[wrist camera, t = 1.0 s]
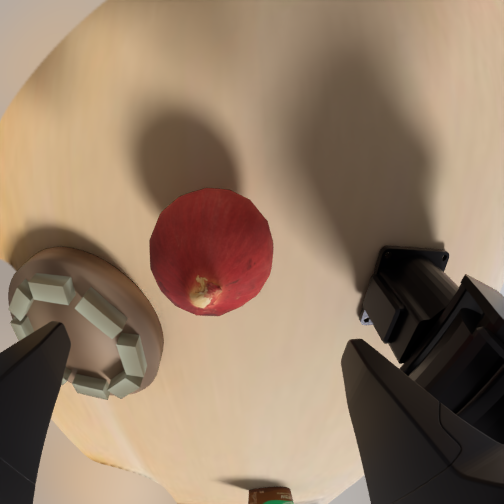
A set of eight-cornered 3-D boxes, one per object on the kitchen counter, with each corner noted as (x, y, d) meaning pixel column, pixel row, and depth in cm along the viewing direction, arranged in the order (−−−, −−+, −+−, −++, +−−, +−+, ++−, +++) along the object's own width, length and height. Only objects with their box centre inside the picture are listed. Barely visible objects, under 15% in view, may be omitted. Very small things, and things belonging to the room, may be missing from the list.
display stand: (152, 251, 17) (138, 277, 14) (173, 387, 23) (168, 415, 21) (3, 243, 16) (-20, 262, 13) (50, 365, 22) (38, 386, 20)
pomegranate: (259, 269, 18) (272, 366, 11) (168, 263, 18) (133, 354, 11) (271, 179, 16) (301, 235, 9) (169, 171, 15) (113, 221, 8)
